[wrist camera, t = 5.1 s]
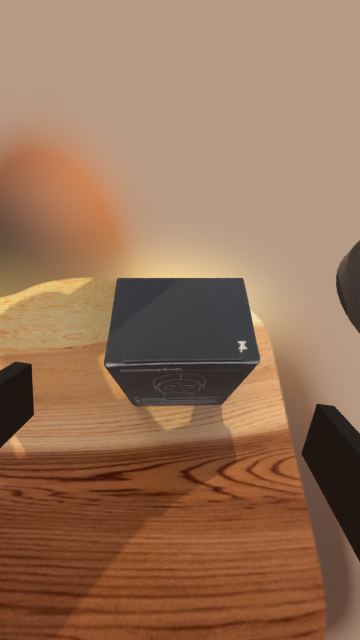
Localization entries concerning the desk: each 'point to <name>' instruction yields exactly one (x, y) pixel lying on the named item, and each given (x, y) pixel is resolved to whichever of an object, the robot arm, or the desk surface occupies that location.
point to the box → (180, 340)
